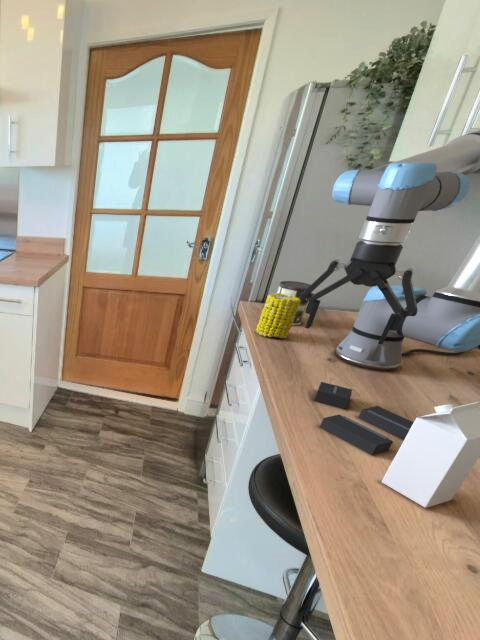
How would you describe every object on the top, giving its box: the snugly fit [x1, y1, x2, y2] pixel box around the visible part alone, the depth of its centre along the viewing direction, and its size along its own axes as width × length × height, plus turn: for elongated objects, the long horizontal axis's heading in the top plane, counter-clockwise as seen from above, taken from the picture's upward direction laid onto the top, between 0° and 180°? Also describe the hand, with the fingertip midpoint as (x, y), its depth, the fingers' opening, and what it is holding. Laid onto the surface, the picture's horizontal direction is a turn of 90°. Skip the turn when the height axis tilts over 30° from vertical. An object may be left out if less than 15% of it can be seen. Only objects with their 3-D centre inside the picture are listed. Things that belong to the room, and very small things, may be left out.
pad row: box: [319, 405, 414, 456], centre depth 96 cm, size 18×11×3 cm, turn 107°
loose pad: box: [313, 381, 353, 410], centre depth 109 cm, size 6×6×3 cm
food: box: [255, 292, 301, 339], centre depth 147 cm, size 15×12×10 cm
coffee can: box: [276, 280, 311, 326], centre depth 159 cm, size 10×10×14 cm
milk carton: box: [381, 401, 480, 509], centre depth 76 cm, size 7×7×19 cm
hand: (342, 334), depth 101 cm, fingers open, 13 cm apart
